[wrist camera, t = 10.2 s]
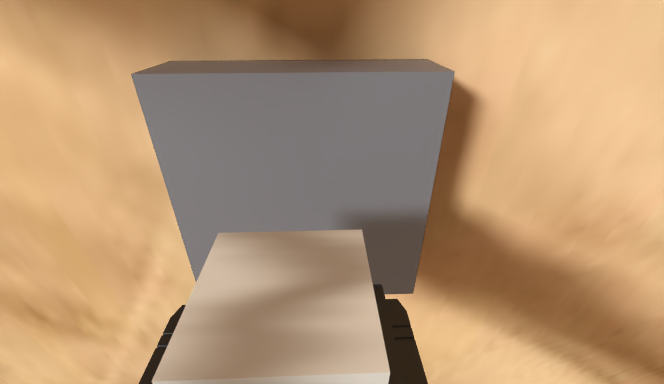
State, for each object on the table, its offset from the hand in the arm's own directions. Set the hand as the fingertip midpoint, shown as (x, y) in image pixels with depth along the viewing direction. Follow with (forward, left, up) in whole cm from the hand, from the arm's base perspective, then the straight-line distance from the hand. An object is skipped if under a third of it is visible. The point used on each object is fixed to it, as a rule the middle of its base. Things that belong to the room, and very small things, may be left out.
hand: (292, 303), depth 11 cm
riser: (0, 0, -10) cm, 10 cm away
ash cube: (0, 0, -1) cm, 1 cm away
